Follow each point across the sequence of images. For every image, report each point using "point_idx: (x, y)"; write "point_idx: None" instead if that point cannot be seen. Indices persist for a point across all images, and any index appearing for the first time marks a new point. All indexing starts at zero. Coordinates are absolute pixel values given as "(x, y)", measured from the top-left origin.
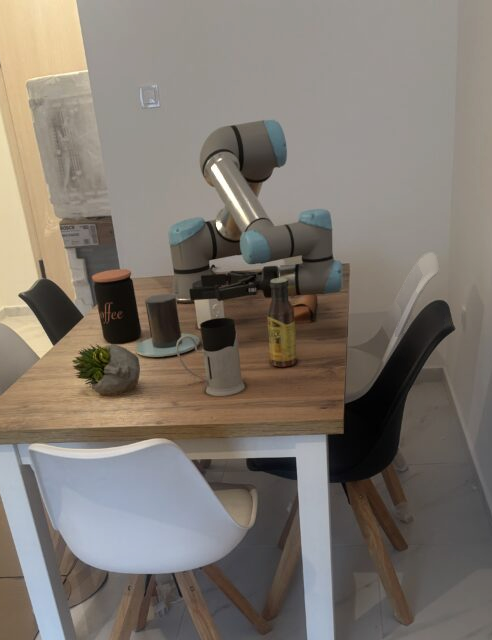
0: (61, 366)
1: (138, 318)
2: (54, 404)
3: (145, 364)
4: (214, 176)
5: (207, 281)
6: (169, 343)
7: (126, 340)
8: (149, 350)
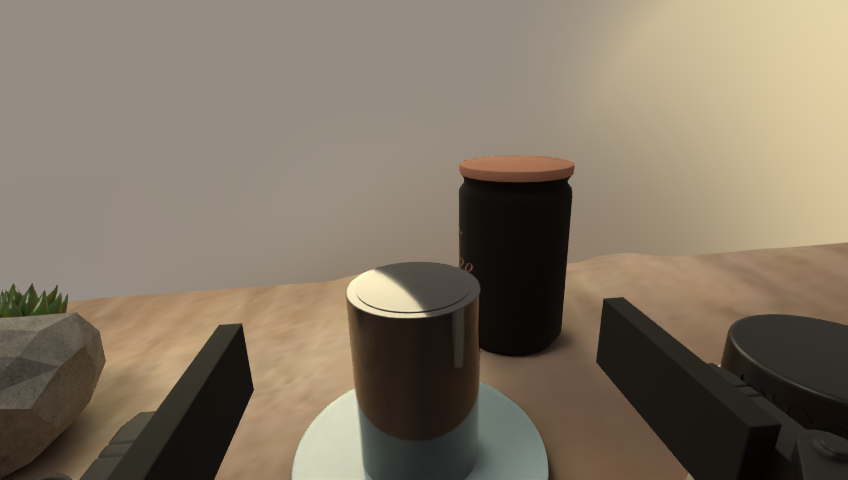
0: (321, 301)
1: (533, 309)
2: None
3: (254, 445)
4: None
5: (622, 359)
6: (363, 457)
7: None
8: (348, 415)
